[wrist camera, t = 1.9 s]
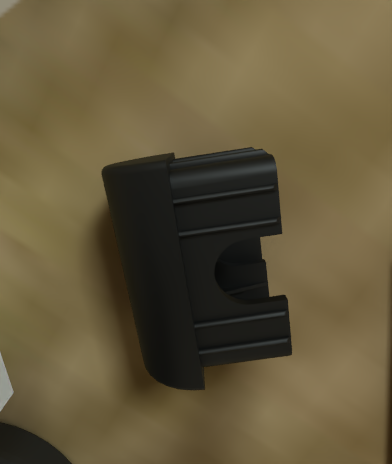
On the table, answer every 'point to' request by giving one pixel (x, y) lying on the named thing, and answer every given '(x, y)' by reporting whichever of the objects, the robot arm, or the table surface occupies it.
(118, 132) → the table surface
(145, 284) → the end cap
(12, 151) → the table surface
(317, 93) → the table surface
